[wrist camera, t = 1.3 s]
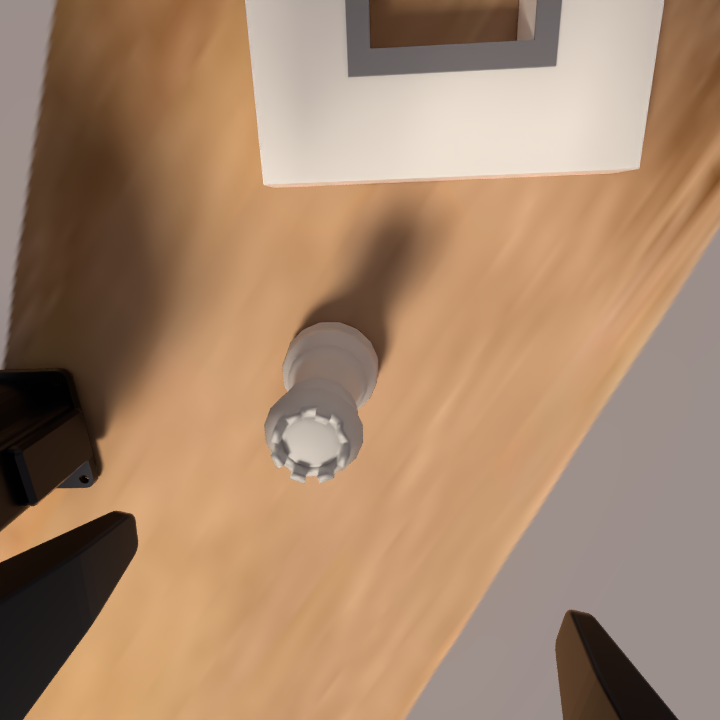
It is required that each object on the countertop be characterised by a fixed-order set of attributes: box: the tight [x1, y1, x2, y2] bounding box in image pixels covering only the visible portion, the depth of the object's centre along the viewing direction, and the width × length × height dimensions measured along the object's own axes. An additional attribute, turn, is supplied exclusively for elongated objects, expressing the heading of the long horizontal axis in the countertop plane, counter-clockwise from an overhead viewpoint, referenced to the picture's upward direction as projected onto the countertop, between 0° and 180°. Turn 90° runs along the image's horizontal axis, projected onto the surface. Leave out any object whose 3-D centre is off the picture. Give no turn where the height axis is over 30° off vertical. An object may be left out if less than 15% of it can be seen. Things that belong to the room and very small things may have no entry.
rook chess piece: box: [264, 322, 378, 483], centre depth 17 cm, size 4×4×8 cm
